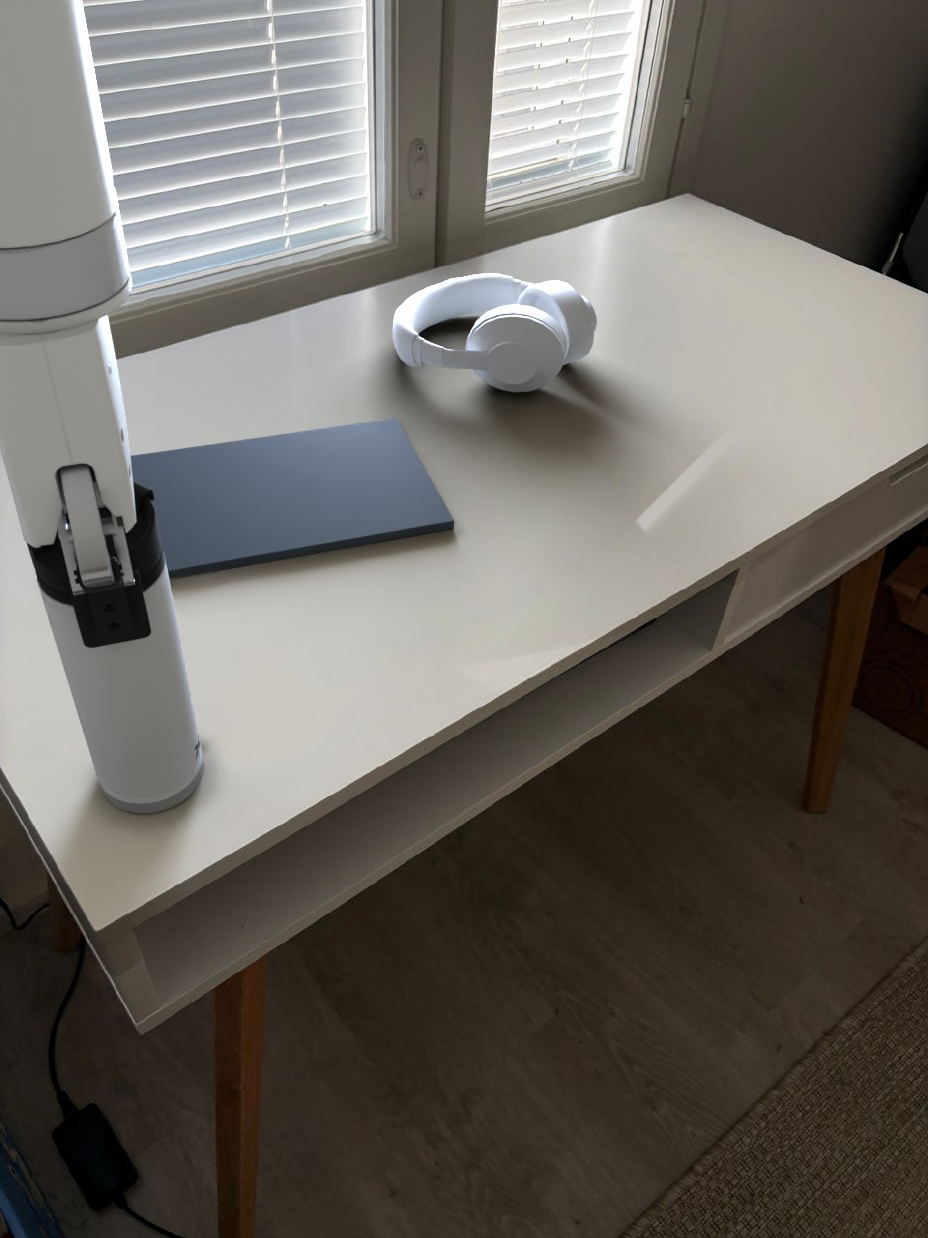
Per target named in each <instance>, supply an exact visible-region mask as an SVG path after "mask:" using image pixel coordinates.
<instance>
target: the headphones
mask: <svg viewBox="0 0 928 1238" xmlns="http://www.w3.org/2000/svg"><path fill="white" fill-rule="evenodd" d="M394 312H395V313H394V315H393V322H392V342H393V346H394V348H395V351H396V353H397V356H398V357H399V359H400V360H401V361H402V362H403V363H404V364H405V365H407V366H408V367H413V368H414V367H415V368H421V367H422V365H423V366H426V365H429V366H434V367H439V368H448V369H455V370H457V369H458V370H472V371H473V372H474V373H475V375H476V376H477V377H478V378H479V379H481V380H482V381H483V382H484V383H486V384H487V385H489V386H491V387H494V388H495V389H498V390H500V391H505V392H511V393H527V392H533V391H535V390H538V389H541V388H544V387H545V386H547V385H548V384H549V383H551V382H552V381H554V380H556V378H557V376H558V374H560V371H561V370H562V368H563V366H564V365H567V364H570V363H573V362H577V361H578V360H581V359H583V358H585V357H586V356H587V355H588V354H589V353H590V351H591V350H592V347H593V344H594V339H595V332H596V329H597V326H598V322H597V321H598V319H597V315H596V311H595V309H594V307H593V305H592V303H591V302H590V301H589V300H588V299H587V298H586V297H585V296H583V295H581V294H580V293H579V291H577V289H576V288H575V287H573V286H572V285H570V284H569V283H568V282H565V281H561V280H547V281H543V282H541V283H531V282H526V281H522V280H521V279H517V278H516V279H515V278H514V276H510V275H506V274H501V273H489V272H488V273H487V272H486V273H479V274H478V273H477V274H472V275H468V276H463V277H453V278H449V279H447V280H444V281H443V282H440V283H436V284H433V285H430V286H427V287H426V288H424V289H422V290H419V291H418V292H416V293H414V294H412V295H411V296H409V297H408V298H407V299H406V300H405V301H404V302H403V303H402V304H401V305H400V306H399V307H398V308H396V310H395V311H394ZM478 314H483V315H482V316H480V317H479V318H478V319H477V320H476V321H475V323H474V325H473V327H472V328H471V330H470V332H469V334H468V335H467V338H466V341H465V349H449V348H445V347H444V346H440V345H438V344H435V343H433V342H430V341H428V340H426V339H425V338H423V337H421V335H419V334H420V333H421V332H422V331H424V330H426V329H427V328H429V327H431V326H434V325H436V324H439V323H441V322H444V321H446V320H451V319H456V318H460V317H464V316H468V315H478Z"/></svg>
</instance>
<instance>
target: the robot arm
mask: <svg viewBox="0 0 928 1238" xmlns="http://www.w3.org/2000/svg"><path fill="white" fill-rule="evenodd" d="M90 44H91V43H90V39H89V33H88V28H87V21H86V16H85V11H84V4H83V0H0V454H1V458H2V462H3V466H4V469H5V472H6V476H7V480H8V483H9V487H10V491H11V495H12V498H13V502H14V506H15V510H16V514H17V518H18V522H19V526H20V530H21V533H22V537H23V540H24V541H25V543H26V544H27V543H28V544H30V545H31V546H33V547H35V548H38V547H41V545H49V544H54V541H55V538H56V534H57V530H58V537H59V539H60V541H61V545H62V550H63V554H64V558H65V562H66V567H67V571H68V575H69V579H70V581H67V585H68V590H69V594H70V597H71V601H72V604H73V608H74V611H75V615H76V618H77V622H78V626H79V629H80V633H81V636H82V640H83V643H84V645H85V646H86V647H88V648H96V647H101V646H106V645H111V644H116V643H121V642H127V641H132V640H137V639H142V638H146V637H148V636H149V635H150V634H151V627H150V622H149V617H148V613H147V608H146V604H145V599H144V594H143V590H142V585H141V581H140V576H139V571H138V569H135V570H132V566H131V561H130V557H129V552H128V547H127V542H126V538H125V533H124V528H125V532H126V533H127V532H128V531H130V530H131V529H132V527H133V526H134V525H135V523H136V510H135V497H134V486H133V476H132V466H131V456H132V455H131V450H130V439H129V432H128V423H127V417H126V411H125V404H124V398H123V392H122V386H121V385H122V384H121V381H120V375H119V374H120V373H119V367H118V362H117V356H116V351H115V347H114V346H115V345H114V340H113V336H112V330H111V324H110V320H109V314H111V313H113V312H114V311H116V310H118V309H119V308H120V307H121V306H122V305H123V304H124V303H126V301H127V300H128V298H129V296H130V295H131V294H132V290H133V280H132V279H133V278H132V274H131V270H130V265H129V258H128V252H127V248H126V242H125V241H126V240H125V237H124V231H123V225H122V219H121V213H120V209H119V203H118V195H117V190H116V185H115V180H114V177H113V176H114V173H113V168H112V161H111V156H110V151H109V145H108V141H107V134H106V129H105V123H104V118H103V112H102V107H101V106H102V105H101V101H100V95H99V90H98V89H99V88H98V84H97V79H96V73H95V65H94V61H93V56H92V55H93V54H92V50H91V45H90ZM103 507H107V508H108V509H109V510H110V511H111V514H112V517H109V518H102V519H101V516H100V511H99V508H103ZM65 513H68V516H69V520H70V524H67V522H66V517H65ZM111 535H113V540H114V544H115V549H116V553H117V558H118V560H117V559H116V557H109V554H108V550H107V545H106V541H105V536H111Z"/></svg>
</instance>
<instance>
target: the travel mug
mask: <svg viewBox="0 0 928 1238" xmlns="http://www.w3.org/2000/svg"><path fill="white" fill-rule="evenodd" d="M133 486H134V497H135V510H136V523H135V525H134V526H133V527H132V529H131V530H130V531H128V532H127V533H126V532H125V528H124V533H125V538H126V542H127V547H128V552H129V557H130V561H131V566H132V570H135V569H138V571H139V576H140V581H141V585H142V590H143V594H144V599H145V604H146V608H147V613H148V617H149V622H150V627H151V634H150V635H149V636H148V637H146V638H142V639H137V640H132V641H127V642H121V643H116V644H111V645H106V646H101V647H96V648H88V647H86V646H85V645H84V643H83V640H82V636H81V633H80V629H79V626H78V622H77V618H76V615H75V611H74V608H73V604H72V601H71V597H70V594H69V590H68V585H67V581H70V579H69V575H68V571H67V567H66V562H65V558H64V554H63V550H62V545H61V541H60V539H59V537H58V530H57V534H56V538H55V541H54V544H49V545H41V547H38V548H35V547H33V546H31V545H30V544H28V543H27V542H26V546H27V549H28V552H29V556H30V559H31V562H32V566H33V568H34V571H35V575H36V583H37V586H38V589H39V592H40V596H41V599H42V603H43V605H44V609H45V612H46V615H47V619H48V622H49V625H50V629H51V631H52V634H53V638H54V641H55V645H56V648H57V651H58V654H59V658H60V661H61V665H62V667H63V671H64V673H65V677H66V682H67V684H68V687H69V691H70V693H71V697H72V700H73V703H74V706H75V710H76V714H77V716H78V720H79V724H80V725H81V729H82V732H83V733H82V734H83V735H84V739H85V742H86V745H87V749H88V752H89V755H90V758H91V761H92V765H93V768H94V771H95V774H96V778H97V782H98V785H99V787H100V790H101V793H102V795H103V796H104V797H105V799H106V800H107V801H108V802H109V803H110V804H111V805H113V806H114V807H115V808H118V809H120V810H122V811H124V812H125V811H126V812H128V813H134V814H150V813H151V814H153V813H158V812H162V811H165V810H168V809H171V808H174V807H175V806H177V805H178V804H181V803H182V802H183V801H185V800H186V799H187V798H188V797H190V796H191V794H192V793H193V792H194V791H195V790H197V788H198V786H199V785H200V783H201V781H202V779H203V775H204V772H205V759H204V755H203V750H202V744H201V738H200V733H199V728H198V723H197V717H196V712H195V706H194V701H193V696H192V691H191V686H190V681H189V676H188V670H187V665H186V660H185V655H184V654H185V653H184V649H183V644H182V638H181V634H180V628H179V623H178V617H177V613H176V607H175V601H174V597H173V592H172V586H171V581H170V580H171V579H169V575H168V570H167V565H166V559H165V554H164V552H163V549H162V545H161V539H160V534H159V529H158V523H157V518H156V513H155V508H154V506H153V504H152V502H151V501H153V500H155V499H154V494H153V491H152V490H151V489H149V488H147V487H145V486H143V485H141V484H139V483H137V482H135V481H133ZM150 500H151V501H150ZM99 511H100V516H101V519H102V518H109V517H112V514H111V511H110V510H109V509H108V508H107V507H103V508H99ZM65 517H66V522H67V524H70V520H69V516H68V513H65ZM105 541H106V545H107V550H108V554H109V557H116V559H117V560H118V558H117V553H116V549H115V544H114V540H113V535H111V536H105Z"/></svg>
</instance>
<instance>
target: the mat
mask: <svg viewBox="0 0 928 1238" xmlns="http://www.w3.org/2000/svg"><path fill="white" fill-rule="evenodd" d="M130 456H131V466H132V476H133V481H135V482H137V483H139V484H141V485H143V486H145V487H147V488H149V489H151V490H152V491H153V494H154V499H155V500H153V501H151V500H150V501H151V502H152V504H153V506H154V508H155V513H156V518H157V523H158V529H159V534H160V539H161V545H162V549H163V552H164V554H165V559H166V565H167V570H168V575H169V580H171V579H176V578H182V577H188V576H192V575H193V576H194V575H199V574H205V573H211V572H216V571H221V570H227V569H232V568H240V567H245V566H250V565H256V564H261V563H266V562H272V561H279V560H284V559H289V558H295V557H301V556H307V555H312V554H317V553H323V552H328V551H329V552H330V551H335V550H339V549H340V550H341V549H345V548H346V549H347V548H351V547H357V546H362V545H368V544H374V543H379V542H380V543H381V542H385V541H391V540H395V539H396V540H397V539H401V538H407V537H414V536H418V535H424V534H431V533H436V532H441V531H442V532H443V531H446V530H452V529H454V528H455V520H454V517H453V516H452V514H451V512H450V511H449V509H448V507H447V505H446V504H445V502H444V500H443V498H442V497H441V494H440V492H439V491H438V489H437V488H436V487H437V486H435V484H434V482H433V480H432V478H431V476H430V475H429V473H428V472H427V470H426V468H425V465H424V464H423V462H422V460H421V458H420V457H419V455H418V454H417V452H416V450H415V448H414V447H413V445H412V443H411V440H410V439H409V437H408V436H407V433H406V432H405V430H404V428H403V426H402V425H401V423H400V421H399V419H398V417H394V418H385V419H379V420H378V419H377V420H372V421H366V422H365V421H364V422H356V423H351V424H350V423H349V424H344V425H337V426H330V427H323V428H315V429H309V430H301V431H295V432H288V433H281V434H280V433H279V434H275V435H267V436H260V437H253V438H246V439H238V440H231V441H224V442H218V443H212V444H211V443H210V444H204V445H203V444H202V445H197V446H190V447H183V448H176V449H168V450H162V451H155V452H148V453H147V452H146V453H141V454H133V455H130Z"/></svg>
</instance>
